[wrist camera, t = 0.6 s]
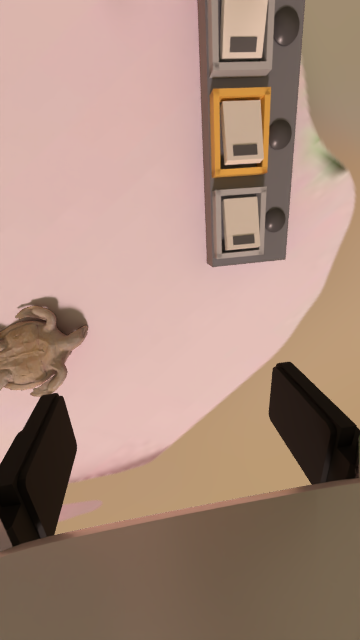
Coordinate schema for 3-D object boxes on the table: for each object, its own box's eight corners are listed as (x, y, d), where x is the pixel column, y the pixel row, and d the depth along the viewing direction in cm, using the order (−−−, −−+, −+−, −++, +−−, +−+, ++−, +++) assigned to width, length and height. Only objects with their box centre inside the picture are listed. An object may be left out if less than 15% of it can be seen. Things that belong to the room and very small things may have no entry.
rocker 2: (221, 201, 30) (224, 198, 29) (253, 199, 31) (257, 196, 30) (225, 250, 31) (228, 249, 30) (256, 247, 32) (260, 245, 31)
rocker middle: (220, 108, 27) (222, 100, 26) (256, 106, 28) (260, 99, 26) (224, 165, 28) (227, 160, 27) (259, 162, 28) (264, 158, 27)
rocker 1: (222, -30, 22) (226, -37, 22) (266, -29, 23) (271, -36, 22) (219, 60, 26) (222, 58, 25) (257, 60, 26) (262, 57, 25)
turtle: (17, 373, 42) (7, 429, 34) (-48, 346, 35) (-77, 408, 28) (89, 315, 40) (95, 363, 32) (34, 275, 33) (26, 323, 26)
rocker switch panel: (196, -20, 26) (207, -65, 22) (291, -18, 27) (318, -61, 23) (207, 263, 36) (215, 269, 32) (274, 256, 37) (291, 261, 33)
